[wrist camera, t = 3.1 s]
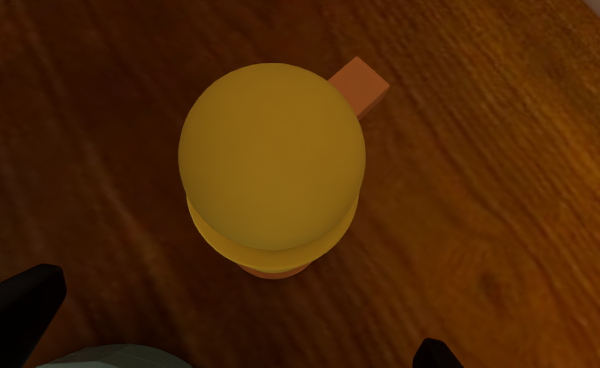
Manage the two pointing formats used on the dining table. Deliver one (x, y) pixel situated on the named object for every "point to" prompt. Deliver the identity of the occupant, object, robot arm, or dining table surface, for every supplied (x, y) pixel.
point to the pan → (118, 358)
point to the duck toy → (277, 162)
